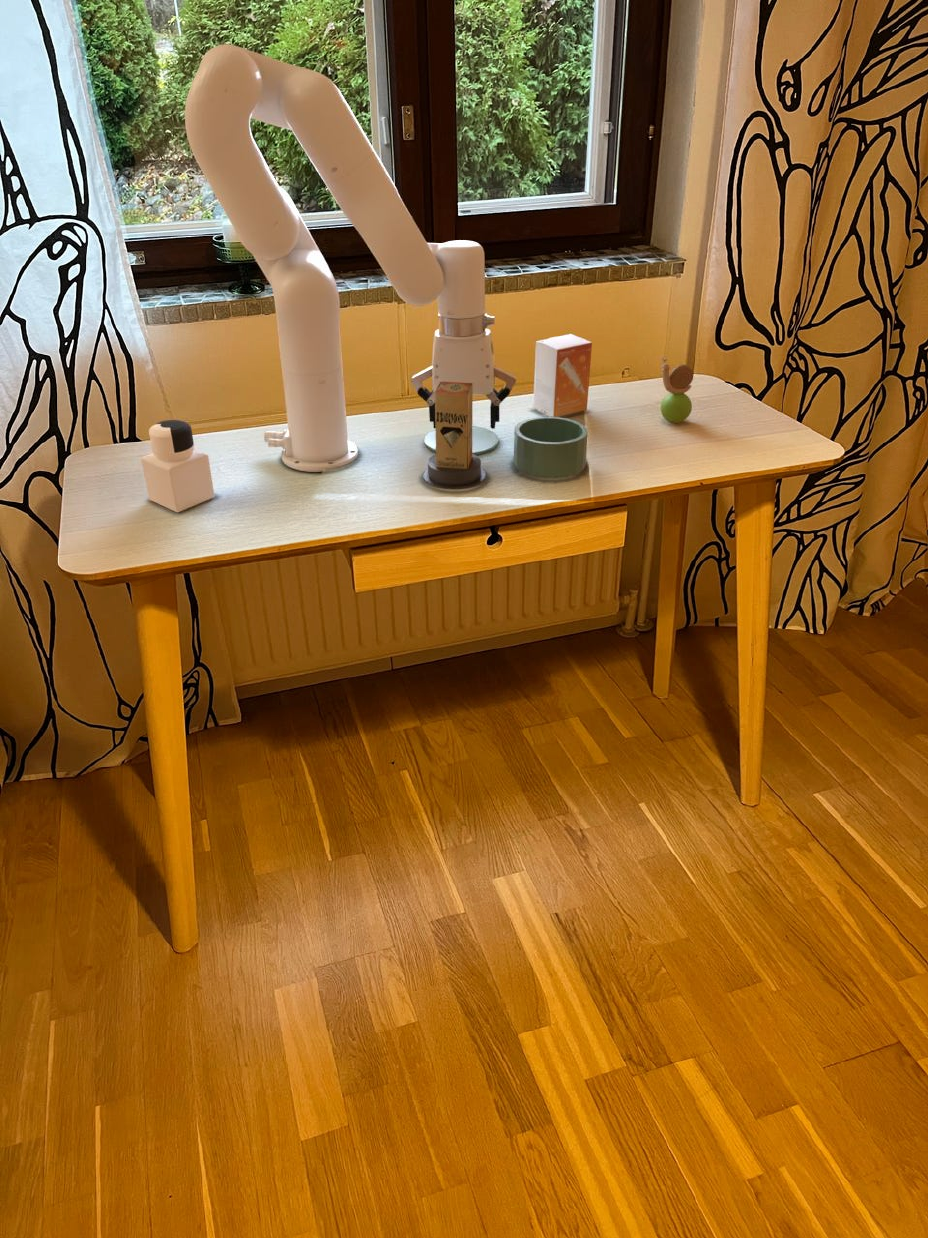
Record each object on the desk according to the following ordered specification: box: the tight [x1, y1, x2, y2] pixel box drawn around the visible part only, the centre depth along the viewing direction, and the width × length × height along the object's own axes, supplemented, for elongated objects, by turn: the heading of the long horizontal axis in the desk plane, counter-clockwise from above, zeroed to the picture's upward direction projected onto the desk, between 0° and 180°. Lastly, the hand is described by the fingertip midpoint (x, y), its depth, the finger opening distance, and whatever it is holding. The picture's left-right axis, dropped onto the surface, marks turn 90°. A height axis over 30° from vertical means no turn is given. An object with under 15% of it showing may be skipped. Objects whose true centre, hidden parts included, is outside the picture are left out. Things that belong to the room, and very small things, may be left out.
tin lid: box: [423, 425, 499, 456], centre depth 165 cm, size 13×13×6 cm
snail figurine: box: [660, 356, 694, 424], centre depth 171 cm, size 5×6×12 cm
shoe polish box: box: [435, 382, 473, 469], centre depth 149 cm, size 5×5×12 cm
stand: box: [422, 454, 487, 491], centre depth 154 cm, size 10×10×3 cm
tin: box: [513, 416, 588, 479], centre depth 157 cm, size 12×12×6 cm
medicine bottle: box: [141, 419, 215, 513], centre depth 145 cm, size 7×7×12 cm
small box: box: [532, 333, 593, 417], centre depth 176 cm, size 8×6×13 cm
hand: (464, 425), depth 164 cm, fingers open, 9 cm apart
